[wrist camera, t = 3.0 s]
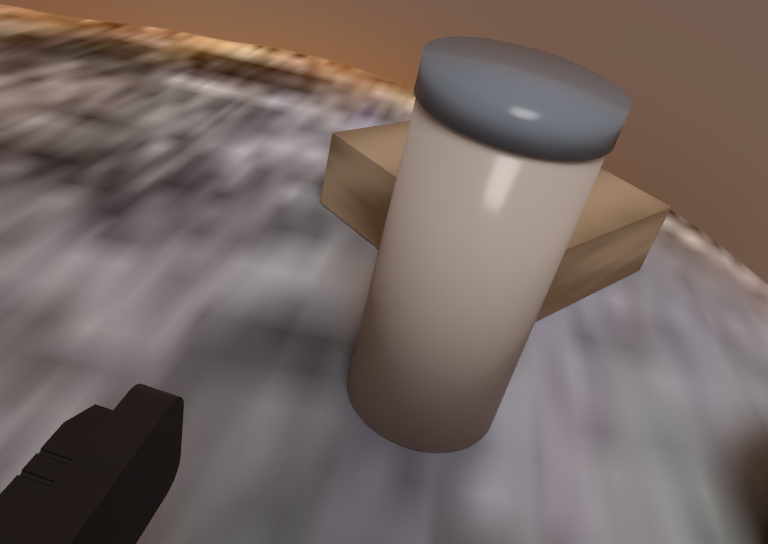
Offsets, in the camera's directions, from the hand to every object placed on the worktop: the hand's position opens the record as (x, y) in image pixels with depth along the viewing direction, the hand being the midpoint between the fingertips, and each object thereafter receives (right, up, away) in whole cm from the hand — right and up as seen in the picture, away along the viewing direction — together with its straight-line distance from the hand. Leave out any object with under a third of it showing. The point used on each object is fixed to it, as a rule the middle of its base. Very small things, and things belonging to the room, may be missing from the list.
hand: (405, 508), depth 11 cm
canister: (+1, 0, +12) cm, 12 cm away
